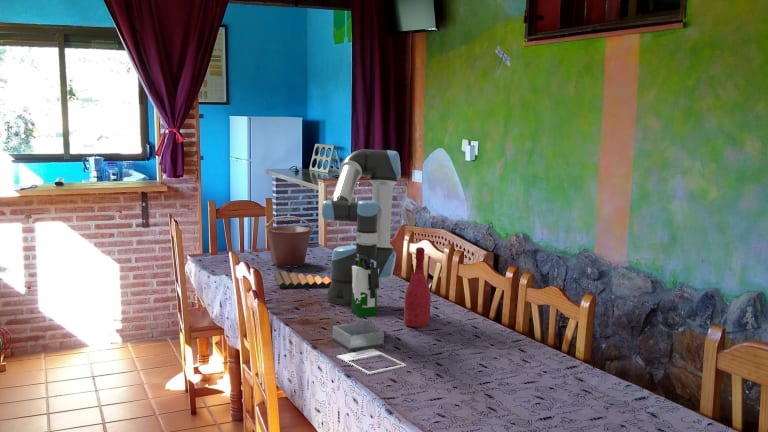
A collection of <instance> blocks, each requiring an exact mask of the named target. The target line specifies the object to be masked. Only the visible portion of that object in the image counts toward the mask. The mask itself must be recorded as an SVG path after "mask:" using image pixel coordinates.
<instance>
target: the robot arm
mask: <svg viewBox="0 0 768 432" xmlns="http://www.w3.org/2000/svg"><path fill="white" fill-rule="evenodd" d="M401 169H402V167H401V161H400V155H399V152H398V151H396V150H390V149H389V150H388V149H366V148H363V149H358V150H355V151H353V152H351V153H350V154H348V155H347V156H346V157H345V158H344V159H343V160H342V162H341V164H340V166H339V169H338V171H339V176H338V178H337V179H338V180H337V181H336V185H335V187H334V190H333V193H332V196H331V198H330V199H328V200H324V201H323V202H322V206H321V217H322V219H323V220H324V221H332V222H351V223H356V235H355V238H356V244H355V245H351V244H350V245H342V246H337V247H335V248H334V249H333V250H332V255H331V278H330V279H331V285H330V287H329V288H328V291H327V294H326V302H328V303H331V304H334V305H343V306H345V305H347V306H348V305H349V306H352V279H353V276H352V266H355V265H357V266H358V261H359V263H361V262H362V267H363V268H364V269H365V270H370V271H371V274H368V285H369V288H368V297H367V307H373V306H375V290H376V289H377V290H378V289H380V282H379V281H380V280H381V279H382V280H388V279H390V278H392V276H393V272H394V271H395V270H394V269H395V266H396V265H395V264H396V261H397V260H396V258H397V252H396V251H394V247H393V246H392V244H391V228H392V227H391V225H392V210H393V196H394V195H393V193H394V186H395V185H396V184H397V183H398V179H402V178H401V177H402V175H401V174H402V170H401ZM362 177H364V178H369V183H370V184H371V185H372V193H371V200H366V199H365V200H359V201H352V198H353V197H354V192H355V190H356V185H357V183H358V180H360V179H361V178H362ZM378 269H379V274H378Z"/></svg>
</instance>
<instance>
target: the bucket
mask: <svg viewBox="0 0 768 432" xmlns="http://www.w3.org/2000/svg"><path fill="white" fill-rule="evenodd" d="M287 218H289V219H296V220H299V221H301V222H303V223H305V224H307V225H308V227H305V226H299V225H276V226H271V225H272V224H273V222H274V220H278V219H287ZM269 226H270V227H269ZM264 228H265V230H266V235H267V242H268V247H269V252H270V258H271V264H272V263H273V265H274V264H275V265H274V266H276V265H277V266H290V267H293V266H300V267H302V266H301V265H304V266H305V262H306V256H307V251H308V248H309V242H310V239H311V238H310V237H311V233H312V231H313V230H314V227H313V225H312V224H311V223H310V222H309V221H307V220H305V219H303V218H302V217H298V216H294V215H293V216H292V215H284V216H283V215H282V216H276V217H272V219H271V220H270V221H269V222H267V223H265V224H264ZM277 266H276V267H277ZM290 267H289V268H290ZM293 268H294V267H293Z"/></svg>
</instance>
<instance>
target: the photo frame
mask: <svg viewBox="0 0 768 432" xmlns="http://www.w3.org/2000/svg"><path fill="white" fill-rule="evenodd" d="M377 356H382V357H384V358H386V359H388V360H389V361H390V360H391V361H392V362H394V363H396V364H398V365H395V366H390V367H387V368H381V369H376V370H373V371H369V370H366V369H364V368H362V367H360V366H358V365H356V364H355V363H353V361H352V360H354V361H358V359H359V360H364V359H368V358H369V359H370V358H373V357H377ZM336 358H337V359H339V360H341V361H342V360H343V362H344V361H345V362H344V363H346V362H347V363H346V364H348V363H349V364H348V365H350V364H351V365H350V366H352V365H353V366H354V367H353V366H352V367H353V368H355V367H356V368H355V369H357V368H358V369H357V370H359V369H360V370H359V371H361V370H362V371H361V372H363V373H364V372H365V373H364V374H366V373H367V374H366V375H368V374H370V375H373V374H374V373H375V374H378V372H379V373H382V372H387V371H392V370H396V369H400V367H401V368H405V367H407V364H406V363H404V362H402V361H399V360H397V359H395V358H393V357H391V356H389V355H387V354H385V353H383V352H381V351H379V350H376V349H375V348H368V349H363V350H358V351H353V352H349V353H344V354H340V355H339V354H338V355H336ZM349 361H350V362H349ZM400 364H401V365H400ZM404 366H405V367H404Z"/></svg>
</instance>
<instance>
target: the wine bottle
mask: <svg viewBox="0 0 768 432" xmlns="http://www.w3.org/2000/svg"><path fill="white" fill-rule="evenodd" d="M414 258H415V268H414V272H413V274H412V277H411V279H410V280H409V283H408V284H407V287H406V291H405V295H404V309H403V310H404V311H403V312H404V313H403V314H404V315H403V320H404V324H405V325H406V326H407V327H411V328H417V329H418V328H419V329H420V327H422V328H426V327H427V326H429V323H430V317H431V304H432V303H431V301H432V297H431V289H430V285H429V284H428V280H427V278H426V276H425V271H424V260H425V248H424V247H422V246H421V247H418V246H417V247H416V249H415V257H414Z"/></svg>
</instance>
